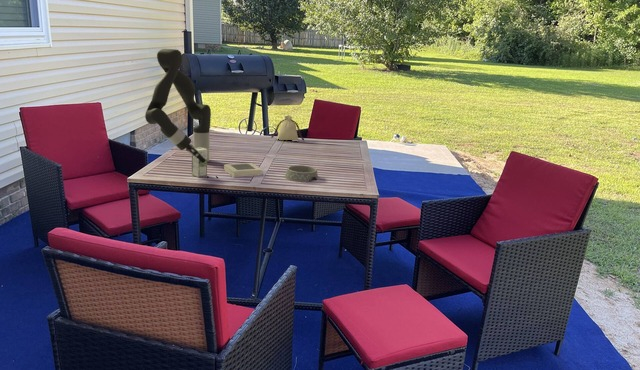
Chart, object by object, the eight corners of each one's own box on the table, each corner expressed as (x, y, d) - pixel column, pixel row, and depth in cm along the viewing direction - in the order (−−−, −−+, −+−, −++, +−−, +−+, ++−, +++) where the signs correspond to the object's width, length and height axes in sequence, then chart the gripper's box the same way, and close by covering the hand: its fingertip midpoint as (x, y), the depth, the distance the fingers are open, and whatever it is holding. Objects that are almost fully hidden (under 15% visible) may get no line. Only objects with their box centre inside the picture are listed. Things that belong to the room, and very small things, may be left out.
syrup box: (200, 173, 262) (200, 146, 258) (207, 175, 259) (207, 148, 255) (191, 175, 258) (191, 148, 254) (198, 177, 254) (198, 150, 250)
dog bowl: (324, 179, 268) (325, 169, 266) (301, 184, 255) (301, 174, 253) (302, 172, 279) (302, 163, 277) (278, 177, 265) (278, 167, 264)
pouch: (304, 141, 369) (305, 115, 364) (304, 143, 361) (305, 117, 356) (271, 139, 368) (271, 113, 363) (270, 141, 360) (271, 115, 355)
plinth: (224, 169, 273) (224, 164, 272) (251, 167, 280) (251, 162, 279) (233, 177, 259) (233, 171, 258) (261, 174, 267) (262, 169, 266)
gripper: (188, 136, 242) (211, 157, 251) (181, 131, 254) (203, 151, 263) (177, 147, 241) (201, 168, 250) (171, 141, 253) (193, 162, 262)
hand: (202, 159), depth 257 cm, fingers closed on syrup box, 7 cm apart
